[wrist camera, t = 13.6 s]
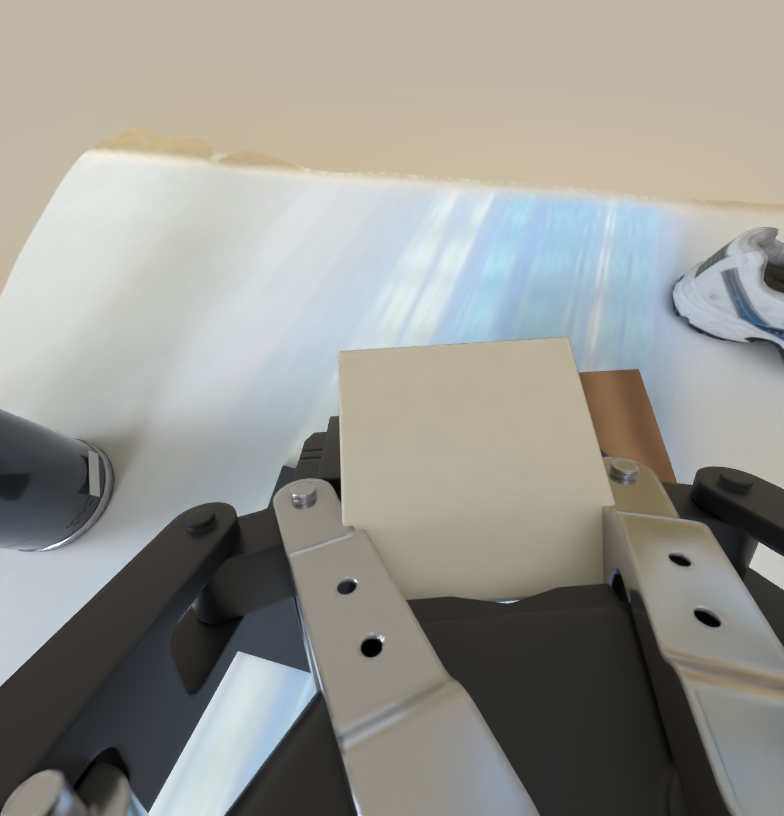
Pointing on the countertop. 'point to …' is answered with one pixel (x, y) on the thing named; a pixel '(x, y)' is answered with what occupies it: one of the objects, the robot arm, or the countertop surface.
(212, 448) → the countertop surface
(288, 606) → the rubber mat
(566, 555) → the cream box
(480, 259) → the countertop surface
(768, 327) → the athletic shoe
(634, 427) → the brown box
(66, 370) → the countertop surface
